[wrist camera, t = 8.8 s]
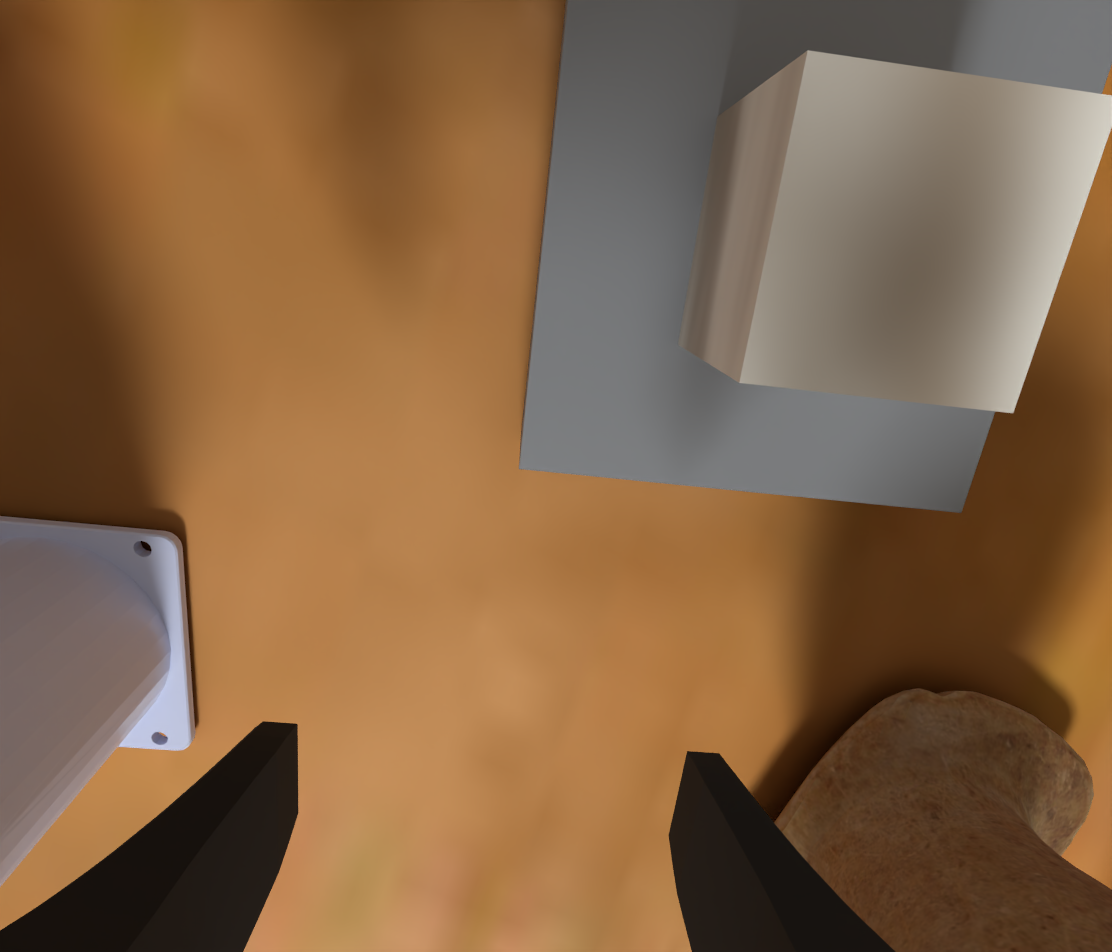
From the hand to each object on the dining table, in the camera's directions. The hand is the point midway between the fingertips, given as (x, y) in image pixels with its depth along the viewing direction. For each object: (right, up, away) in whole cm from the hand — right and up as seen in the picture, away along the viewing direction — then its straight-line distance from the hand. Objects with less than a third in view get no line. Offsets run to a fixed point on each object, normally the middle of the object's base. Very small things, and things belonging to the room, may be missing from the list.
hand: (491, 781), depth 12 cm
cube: (+7, +11, +3) cm, 13 cm away
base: (+7, +12, +6) cm, 15 cm away
